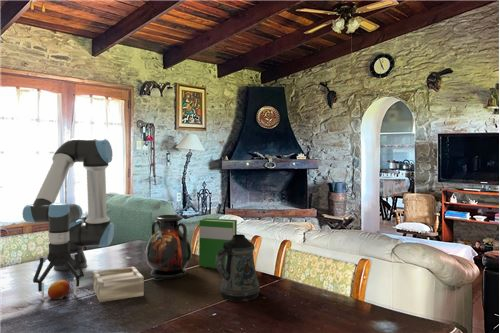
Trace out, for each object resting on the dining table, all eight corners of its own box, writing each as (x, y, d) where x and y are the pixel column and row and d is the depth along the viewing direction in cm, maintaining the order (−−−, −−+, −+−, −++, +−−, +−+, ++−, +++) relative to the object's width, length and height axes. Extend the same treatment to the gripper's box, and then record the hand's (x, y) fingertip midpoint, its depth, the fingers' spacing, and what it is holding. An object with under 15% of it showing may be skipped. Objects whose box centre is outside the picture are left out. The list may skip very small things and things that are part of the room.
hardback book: (236, 265, 211) (236, 219, 210) (231, 269, 204) (232, 222, 203) (204, 263, 216) (204, 217, 215) (198, 266, 208) (199, 220, 207)
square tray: (93, 288, 173) (93, 271, 172) (134, 283, 181) (134, 266, 181) (99, 302, 158) (99, 283, 158) (143, 295, 166) (143, 277, 166)
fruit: (65, 298, 157) (56, 280, 158) (50, 307, 159) (40, 289, 159) (78, 291, 165) (69, 274, 166) (63, 300, 167) (54, 282, 167)
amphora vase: (135, 278, 188) (136, 218, 187) (162, 266, 208) (162, 211, 207) (175, 284, 180) (176, 221, 179) (199, 271, 200) (200, 215, 199)
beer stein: (264, 291, 174) (265, 233, 173) (249, 307, 155) (250, 242, 154) (228, 286, 179) (229, 229, 178) (210, 301, 161) (211, 238, 160)
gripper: (25, 247, 152) (25, 304, 153) (91, 241, 164) (91, 295, 165) (25, 243, 159) (25, 298, 160) (89, 237, 170) (89, 289, 171)
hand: (59, 296), depth 162 cm, fingers open, 11 cm apart
